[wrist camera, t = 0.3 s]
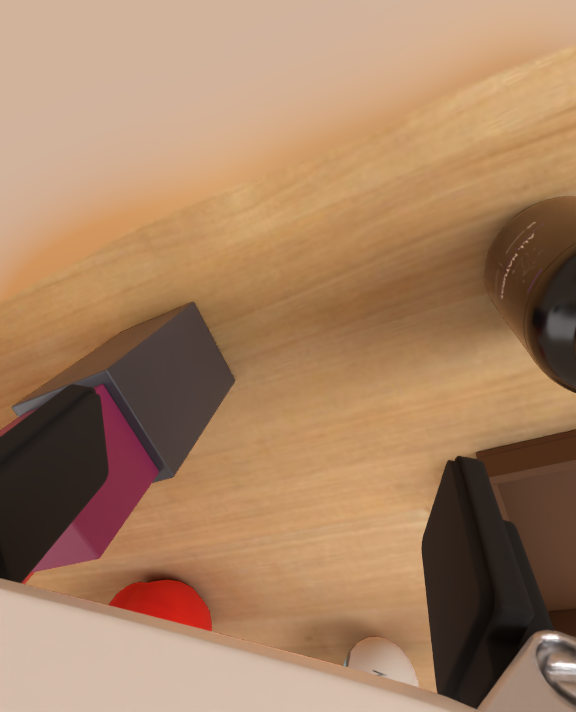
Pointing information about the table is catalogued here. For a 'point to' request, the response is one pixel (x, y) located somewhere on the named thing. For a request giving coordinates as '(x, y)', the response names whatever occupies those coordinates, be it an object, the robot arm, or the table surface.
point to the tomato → (165, 602)
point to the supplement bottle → (539, 284)
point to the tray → (542, 514)
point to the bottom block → (154, 383)
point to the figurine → (381, 660)
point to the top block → (104, 491)
